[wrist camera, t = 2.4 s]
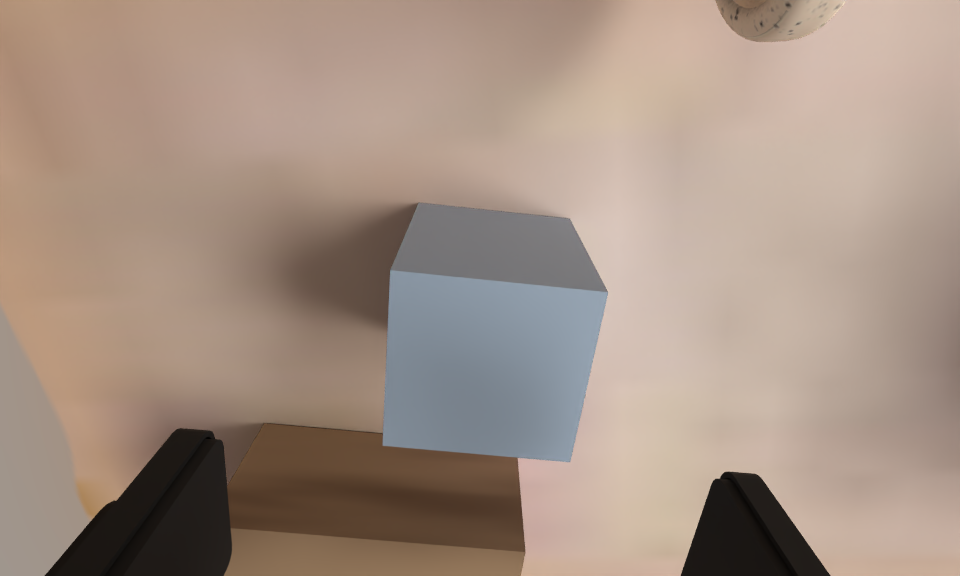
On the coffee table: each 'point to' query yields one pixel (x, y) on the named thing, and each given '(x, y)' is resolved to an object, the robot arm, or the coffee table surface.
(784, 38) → the teacup with lid
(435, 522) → the walnut plinth
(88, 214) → the coffee table surface
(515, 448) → the slate block
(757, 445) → the coffee table surface
